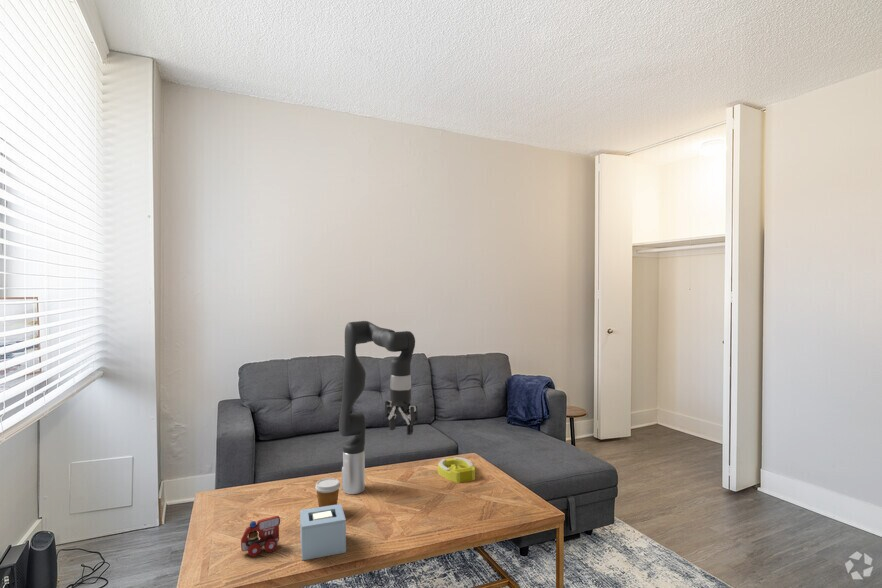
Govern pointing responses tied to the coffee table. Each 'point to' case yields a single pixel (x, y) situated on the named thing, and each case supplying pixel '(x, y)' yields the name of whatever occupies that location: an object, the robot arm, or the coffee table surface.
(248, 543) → the toy fire truck
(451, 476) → the yellow low hollow piece
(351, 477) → the robot arm
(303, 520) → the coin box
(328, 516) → the block
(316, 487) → the disposable coffee cup
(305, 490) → the coffee table surface
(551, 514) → the coffee table surface
